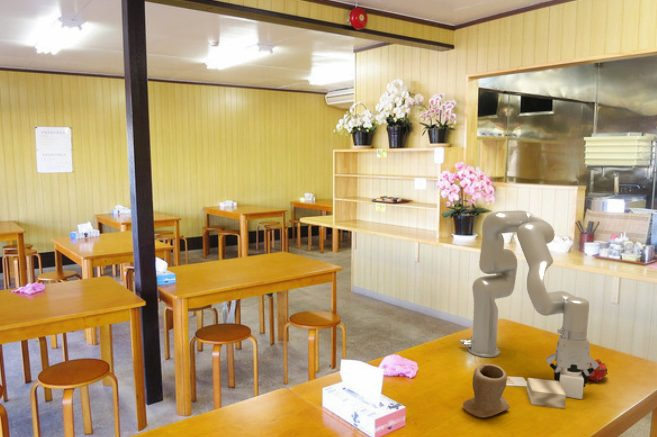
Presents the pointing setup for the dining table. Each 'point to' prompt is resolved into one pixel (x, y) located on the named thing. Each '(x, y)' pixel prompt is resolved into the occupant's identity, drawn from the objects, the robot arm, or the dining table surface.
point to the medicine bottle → (572, 381)
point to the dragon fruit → (598, 372)
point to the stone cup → (487, 391)
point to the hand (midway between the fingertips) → (570, 383)
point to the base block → (545, 393)
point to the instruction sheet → (516, 381)
